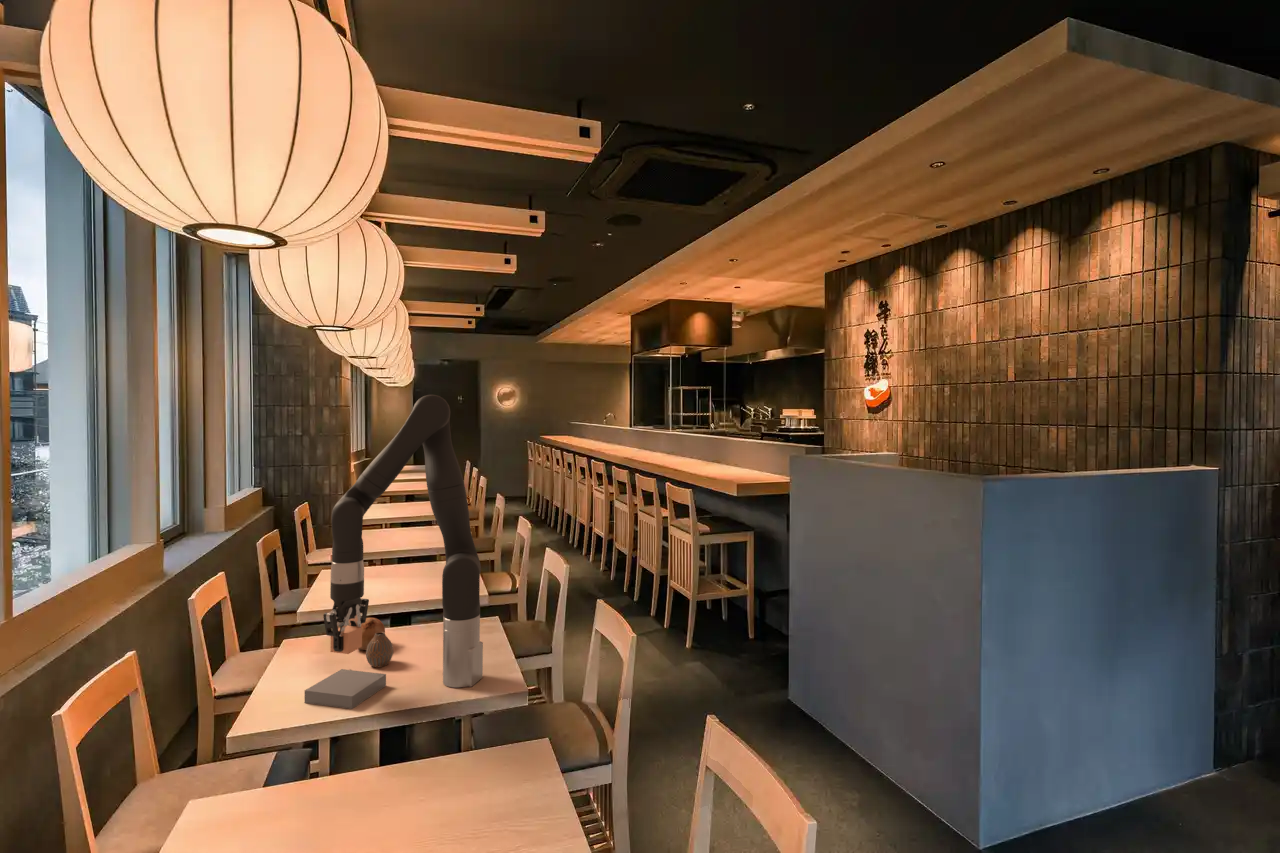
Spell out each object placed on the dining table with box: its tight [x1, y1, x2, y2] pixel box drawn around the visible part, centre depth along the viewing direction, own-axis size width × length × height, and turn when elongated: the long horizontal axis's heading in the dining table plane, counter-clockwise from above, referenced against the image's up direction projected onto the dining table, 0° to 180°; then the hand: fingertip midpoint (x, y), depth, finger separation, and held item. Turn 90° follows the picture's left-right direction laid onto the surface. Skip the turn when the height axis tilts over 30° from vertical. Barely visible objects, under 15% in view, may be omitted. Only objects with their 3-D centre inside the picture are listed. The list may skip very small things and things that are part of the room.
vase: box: [365, 632, 394, 668], centre depth 171 cm, size 7×7×9 cm
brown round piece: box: [358, 617, 386, 651], centre depth 184 cm, size 10×9×10 cm
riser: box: [304, 668, 387, 710], centre depth 153 cm, size 13×13×3 cm
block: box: [330, 624, 362, 655], centre depth 153 cm, size 5×5×5 cm
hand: (346, 646), depth 153 cm, fingers closed on block, 5 cm apart
